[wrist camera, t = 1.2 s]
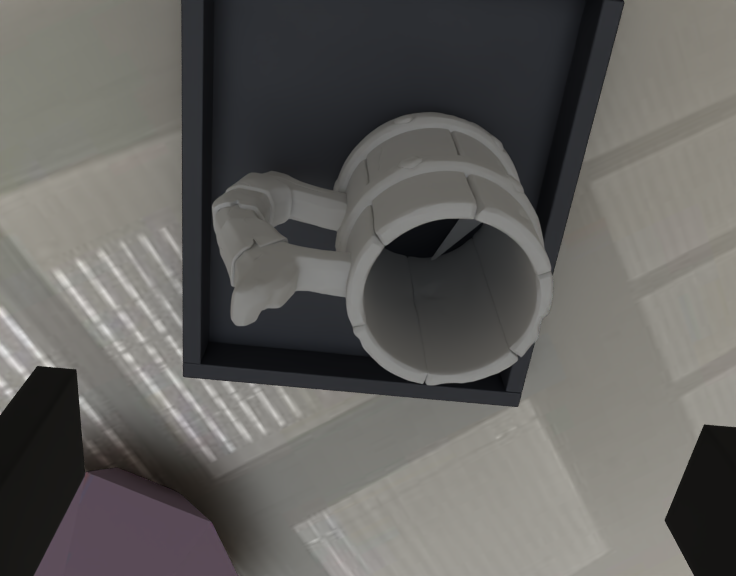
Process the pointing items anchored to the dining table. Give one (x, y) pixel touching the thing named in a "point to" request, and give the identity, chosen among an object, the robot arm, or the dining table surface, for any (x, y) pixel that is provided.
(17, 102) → the dining table surface
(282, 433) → the dining table surface
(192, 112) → the tray
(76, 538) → the flask
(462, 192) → the mug
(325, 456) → the dining table surface
